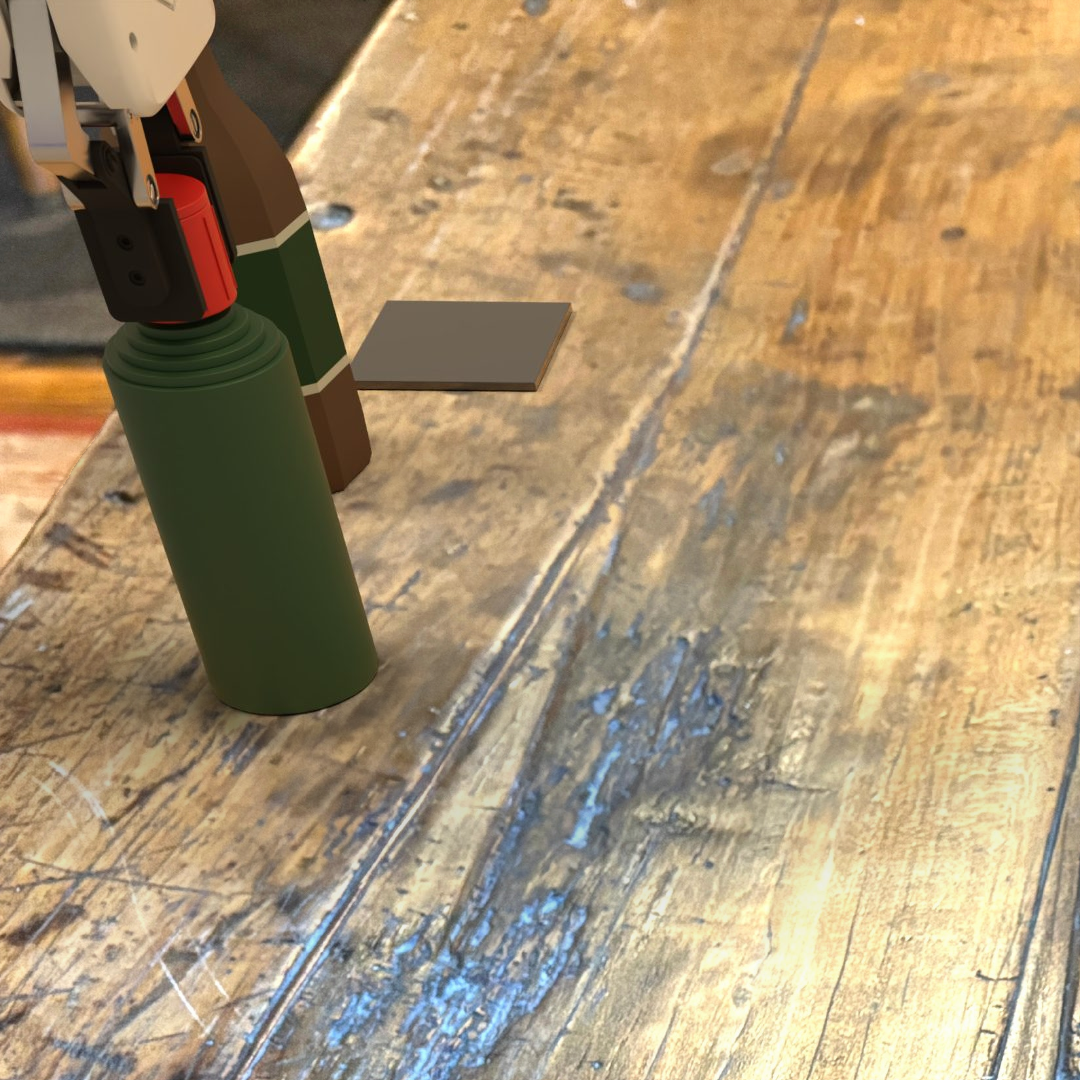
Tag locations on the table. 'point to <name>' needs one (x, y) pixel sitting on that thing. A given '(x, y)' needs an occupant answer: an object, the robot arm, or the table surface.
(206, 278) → the cap
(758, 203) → the table surface
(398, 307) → the coaster
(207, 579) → the bottle
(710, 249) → the table surface
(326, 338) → the beer bottle
